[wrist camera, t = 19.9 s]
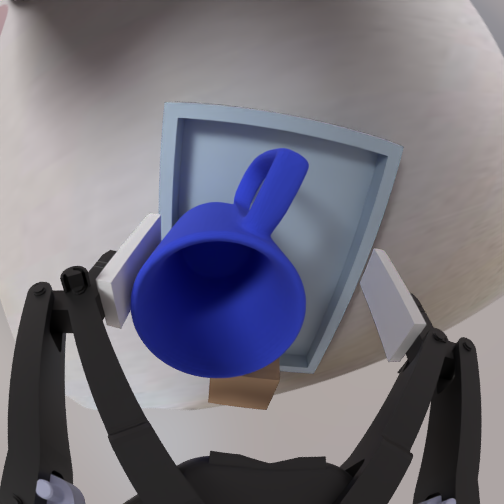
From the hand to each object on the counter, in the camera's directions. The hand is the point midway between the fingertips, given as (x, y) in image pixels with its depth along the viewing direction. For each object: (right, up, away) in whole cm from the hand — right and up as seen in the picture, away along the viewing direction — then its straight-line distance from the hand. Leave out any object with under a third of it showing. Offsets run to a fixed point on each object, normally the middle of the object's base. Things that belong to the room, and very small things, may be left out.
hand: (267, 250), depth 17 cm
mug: (-3, +2, +5) cm, 6 cm away
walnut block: (-1, -7, +10) cm, 12 cm away
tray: (0, -1, +7) cm, 7 cm away
